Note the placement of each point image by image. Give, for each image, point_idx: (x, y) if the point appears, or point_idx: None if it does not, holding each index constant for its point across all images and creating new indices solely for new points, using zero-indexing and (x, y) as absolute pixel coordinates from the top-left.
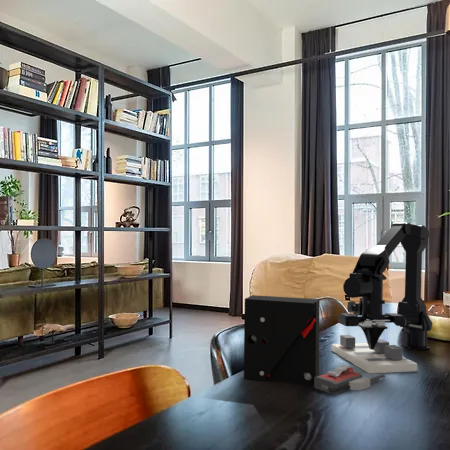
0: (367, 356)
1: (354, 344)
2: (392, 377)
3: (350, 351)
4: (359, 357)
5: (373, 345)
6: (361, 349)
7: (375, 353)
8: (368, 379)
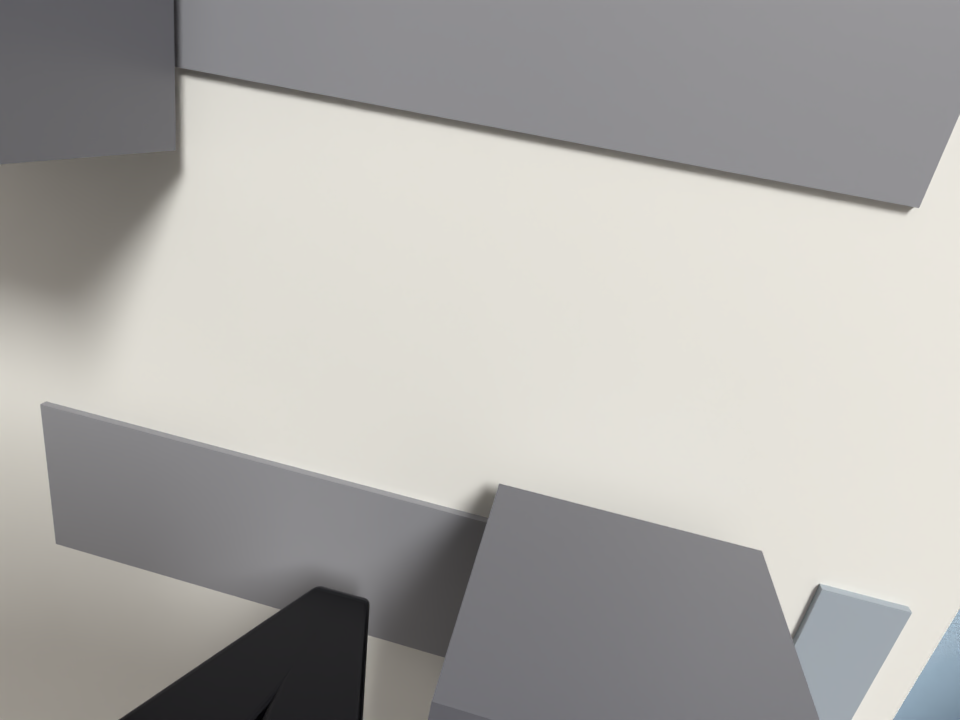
0: (178, 678)
1: (84, 153)
2: None
3: (7, 313)
4: (31, 662)
5: None
6: (333, 244)
7: (413, 639)
8: None
